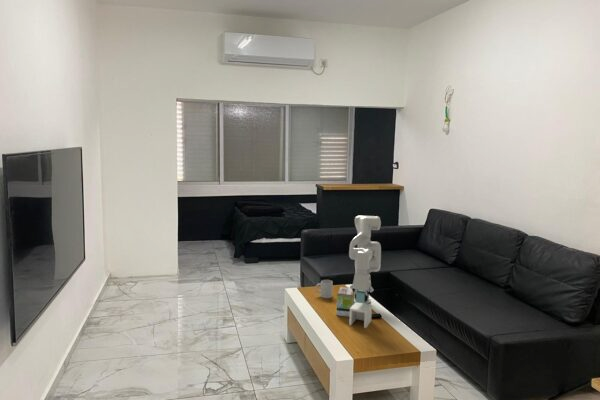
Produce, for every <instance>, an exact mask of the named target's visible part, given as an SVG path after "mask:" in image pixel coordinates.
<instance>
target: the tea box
mask: <svg viewBox="0 0 600 400" xmlns="http://www.w3.org/2000/svg"><path fill="white" fill-rule="evenodd" d="M354 298H355V293H354V292H353V290H352V289H351V288H350V286H349V287H348V286H340V287H339V290H338V291H337V298H336V300H337V301H336V312H335V313H336V314H335V315H336V316H341V317H350V308H351V307H352V306H353V305H354Z"/></svg>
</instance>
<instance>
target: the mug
mask: <svg viewBox="0 0 600 400" xmlns="http://www.w3.org/2000/svg"><path fill="white" fill-rule="evenodd" d="M333 283H334V282H333V280H330V279H322V280H321V281H320V283H319V282H318V283H317V284H316V286H315V291H316V293H318V294H320V297H321V298H322V299H332V298H333V290H334V289H333V288H334V285H333ZM319 286H320V290H318V288H319Z"/></svg>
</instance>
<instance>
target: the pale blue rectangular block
mask: <svg viewBox="0 0 600 400" xmlns="http://www.w3.org/2000/svg"><path fill="white" fill-rule="evenodd" d="M369 291H370V289H369V290H368V292H369ZM368 298H369V299H370V294H368ZM356 302H358V303H365V291H364V290H358V291H357V292H356Z"/></svg>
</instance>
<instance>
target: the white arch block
mask: <svg viewBox="0 0 600 400" xmlns="http://www.w3.org/2000/svg"><path fill="white" fill-rule="evenodd" d="M372 305H373V304H370V303H369V304H363V303H357V302H355V303H354V305H353V306H352V307H351V308H350V317H349V319H348V324H349V326H352V325H353V323H355V322H356V320H360V321H363V328H364V329H366V328H368V326H369V325H370V324H371V322H372V315H373V313H372V310H373V306H372Z"/></svg>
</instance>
